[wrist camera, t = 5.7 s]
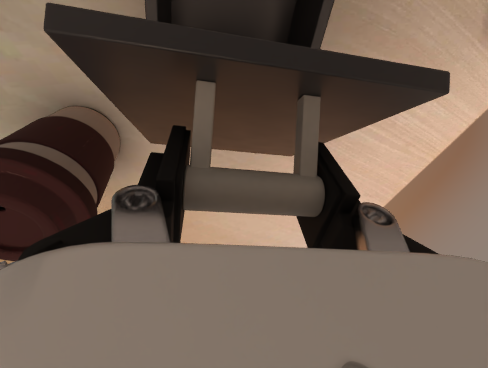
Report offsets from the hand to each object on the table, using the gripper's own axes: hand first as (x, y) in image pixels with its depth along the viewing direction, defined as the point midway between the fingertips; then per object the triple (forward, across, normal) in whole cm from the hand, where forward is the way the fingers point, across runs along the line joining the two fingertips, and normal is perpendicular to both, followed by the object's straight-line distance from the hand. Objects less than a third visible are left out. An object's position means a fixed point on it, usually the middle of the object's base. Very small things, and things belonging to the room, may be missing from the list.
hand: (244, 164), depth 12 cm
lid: (+5, 0, 0) cm, 5 cm away
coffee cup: (+19, +15, +10) cm, 26 cm away
